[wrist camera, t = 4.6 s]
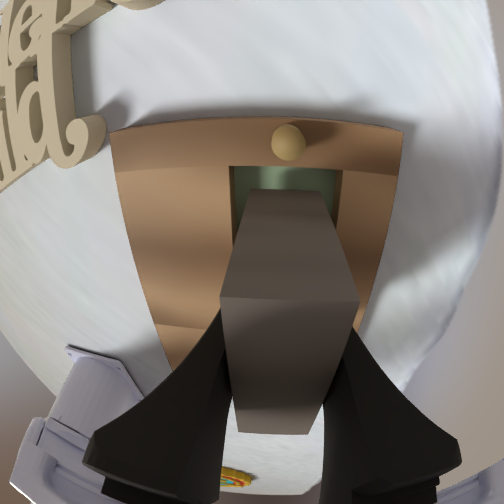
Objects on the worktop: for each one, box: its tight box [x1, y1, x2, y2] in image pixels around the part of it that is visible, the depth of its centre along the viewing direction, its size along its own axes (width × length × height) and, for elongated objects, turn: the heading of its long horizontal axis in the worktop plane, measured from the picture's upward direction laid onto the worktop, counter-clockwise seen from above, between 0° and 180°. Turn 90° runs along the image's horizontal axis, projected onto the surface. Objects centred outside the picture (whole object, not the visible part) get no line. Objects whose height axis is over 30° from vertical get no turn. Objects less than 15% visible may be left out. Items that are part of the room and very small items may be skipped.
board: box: [109, 116, 403, 371], centre depth 15 cm, size 20×13×3 cm, turn 1°
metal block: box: [219, 189, 360, 435], centre depth 11 cm, size 8×3×7 cm, turn 1°
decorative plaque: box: [220, 467, 252, 487], centre depth 51 cm, size 30×3×30 cm
